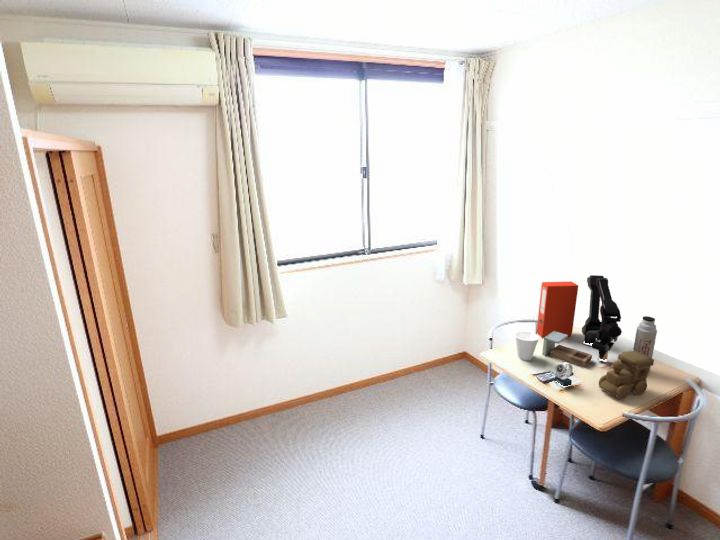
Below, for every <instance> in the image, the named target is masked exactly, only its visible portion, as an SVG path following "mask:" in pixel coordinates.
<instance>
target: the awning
mask: <svg viewBox="0 0 720 540" xmlns="http://www.w3.org/2000/svg"><path fill="white" fill-rule="evenodd" d="M567 338H569V337H568V335H566V334H562V333H559V332H556V331H553V332H552V333H550V334H549V335H547V336H546V337H544V338H543V345H542V353H541V355H542V356H544V357H546V356H547V355H548V354H550V352H551V350H552V349H553V348H555V347H556V344H557V345H560V343H562V342H563V341H565V339H567Z"/></svg>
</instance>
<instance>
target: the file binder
mask: <svg viewBox="0 0 720 540" xmlns="http://www.w3.org/2000/svg"><path fill="white" fill-rule="evenodd" d="M578 292H579V285H578V284H576V283H575V282H573V281H572V280H571V281H541V285H540V296H539V297H540V298H539V303H538V304H539V305H538V306H539V307H538V314H537V323H536V325H537V326H536V333H537V335H538V336H539V337H540V338H541V339H544V337H546V336H547V335H549V334H550V333H552V332H553V331H556V332H559V333H562V334H566V335H568V337H567V338H572V336H573V331H574V330H573V329H574V322H575V314H576V305H577V297H578Z"/></svg>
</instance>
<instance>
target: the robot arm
mask: <svg viewBox="0 0 720 540" xmlns="http://www.w3.org/2000/svg"><path fill="white" fill-rule="evenodd" d="M586 283H587V287H588V289H589V290H590V296H589V297H590V299H589V311H588V312H589V313H588V317H587V318H586V320H585V322H584V324H583V326H582V327H581V333H582V334H583V336H584V338H583V339H584V340H583V341H585V343H589V344H590V343H593V344H592V347H591V348H592V349H593V350H597V351H598V354H599V356H600V358H601V359H602V358H603V357H604V355H605V354H606V352H607V351H608V352H610V350H611V349H612V347H613V346H614V345H615V343H616V342H617V341H618V338H619V337H620V336H621V335H622V333H623V331H622V328H621V327H620V326H619V323H620V322H621V319H622V316H621V311H620V308H619V307H618V304H617V302H616V301H614V300H613V298H612V294H611V291H610V286H609V279H608V277H605V276H604V275H600V274H599V275H595V274H593V275H592V274H590V275H589V276H588V277H587V278H586ZM600 302H601V303H600ZM600 317H601V318H600ZM600 319H601V320H600ZM613 341H614V342H613ZM608 347H609V348H608ZM608 349H609V350H608Z"/></svg>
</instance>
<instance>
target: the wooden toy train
mask: <svg viewBox="0 0 720 540" xmlns="http://www.w3.org/2000/svg"><path fill="white" fill-rule="evenodd" d="M654 362H655V359H654V358H653V357H652V358H650V357H649V356H647V355H644V354H642V353H640V352H637V351H633V350H627V351H624V352H620V353H618V356H617V360H615V361H613V362H612V363H611V366H612V368H613V369H611V370H608V371H606V374H604V375H602V376H601V377H600V379H599V380H598V387H599V388H600V389H601V390H603V391H605V392H606V393H608V394H610V395H612V396H616V398H617V399H618V400H621V401H622V400H626V398H627V397H629V395H630V393H631V392H632V391H633V392H634V394H635V395H638V396H639V395H643V394H644V393H646V392H647V389H648V382H647V381H648V380H647V378H648V375H649V374H650V372H649V369H650V370H651V367H652V366H654V364H655V363H654ZM650 366H651V367H650ZM648 373H649V374H648Z"/></svg>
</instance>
